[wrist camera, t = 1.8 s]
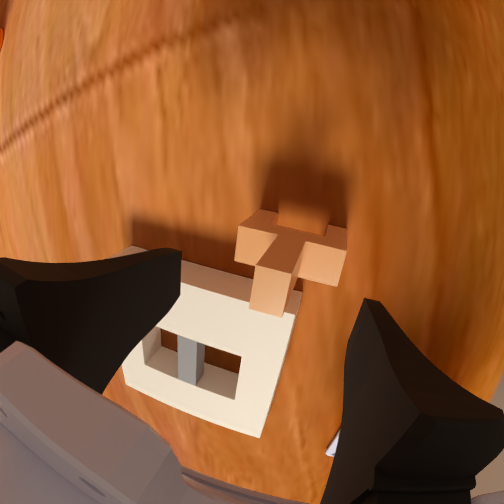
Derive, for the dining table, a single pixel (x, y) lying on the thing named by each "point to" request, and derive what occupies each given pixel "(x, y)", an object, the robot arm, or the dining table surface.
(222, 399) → the square window frame
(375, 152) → the dining table surface
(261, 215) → the notched wooden block
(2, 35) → the shaker bottle
